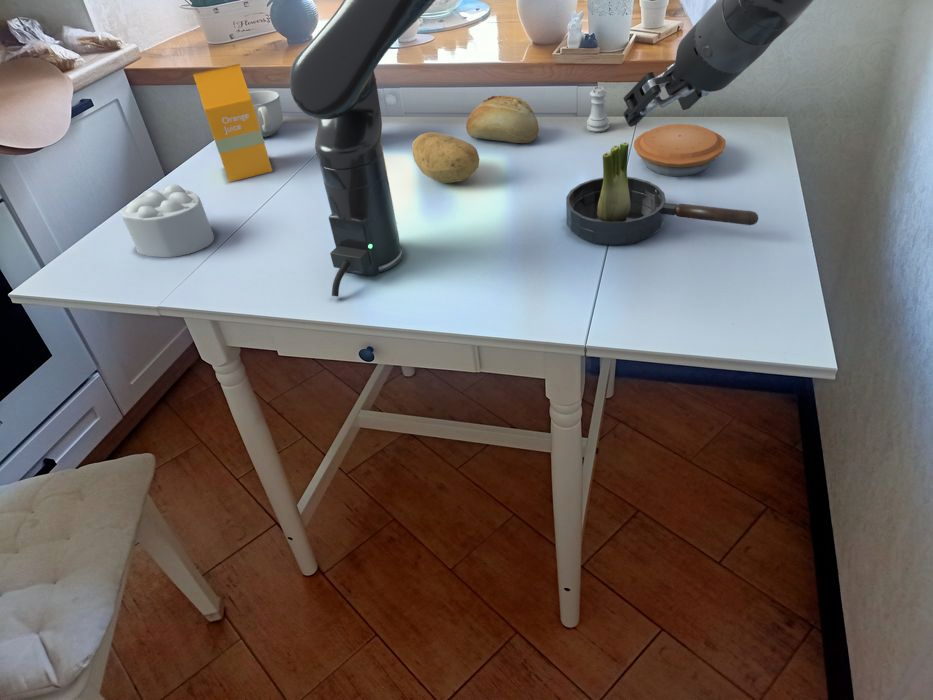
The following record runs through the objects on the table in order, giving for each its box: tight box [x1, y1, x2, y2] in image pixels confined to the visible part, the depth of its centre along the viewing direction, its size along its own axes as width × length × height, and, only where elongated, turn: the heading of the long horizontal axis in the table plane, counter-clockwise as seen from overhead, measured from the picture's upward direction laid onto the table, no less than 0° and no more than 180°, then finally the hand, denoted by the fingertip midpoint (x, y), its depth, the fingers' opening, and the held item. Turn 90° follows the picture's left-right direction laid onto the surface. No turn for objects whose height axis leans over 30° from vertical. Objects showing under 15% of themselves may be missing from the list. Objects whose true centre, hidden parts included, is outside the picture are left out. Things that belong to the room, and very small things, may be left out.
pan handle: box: [662, 202, 759, 226], centre depth 105 cm, size 2×14×2 cm, turn 65°
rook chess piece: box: [586, 85, 610, 134], centre depth 139 cm, size 4×4×8 cm
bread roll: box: [465, 95, 540, 144], centre depth 140 cm, size 10×15×8 cm, turn 69°
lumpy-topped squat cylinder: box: [120, 184, 215, 258], centre depth 121 cm, size 10×13×9 cm
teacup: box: [249, 89, 284, 138], centre depth 155 cm, size 14×11×8 cm
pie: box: [633, 123, 727, 177], centre depth 125 cm, size 16×16×5 cm
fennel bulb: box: [597, 141, 630, 221], centre depth 109 cm, size 6×5×12 cm
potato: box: [411, 131, 481, 184], centre depth 128 cm, size 10×14×8 cm
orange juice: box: [192, 63, 273, 183], centre depth 138 cm, size 8×9×20 cm
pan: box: [565, 176, 667, 246], centre depth 112 cm, size 15×15×4 cm
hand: (655, 111), depth 94 cm, fingers open, 8 cm apart
